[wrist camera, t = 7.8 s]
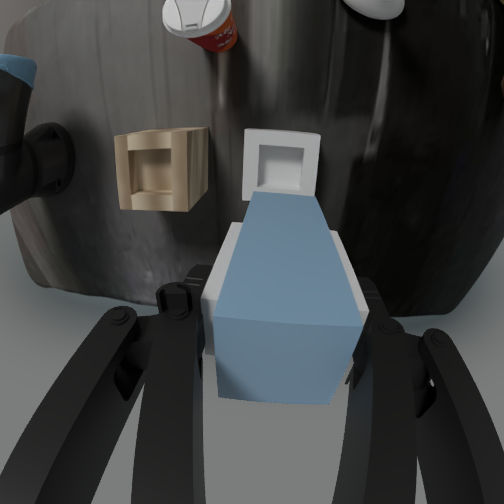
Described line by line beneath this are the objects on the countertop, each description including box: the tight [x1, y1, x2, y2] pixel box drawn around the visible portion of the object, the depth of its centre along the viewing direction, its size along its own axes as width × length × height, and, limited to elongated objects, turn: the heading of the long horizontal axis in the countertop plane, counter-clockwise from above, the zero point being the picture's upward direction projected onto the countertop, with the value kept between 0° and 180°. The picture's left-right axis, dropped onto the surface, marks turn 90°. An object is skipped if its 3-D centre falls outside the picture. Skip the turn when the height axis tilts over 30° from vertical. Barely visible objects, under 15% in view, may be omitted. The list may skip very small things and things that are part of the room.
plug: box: [213, 191, 364, 404], centre depth 13 cm, size 4×5×12 cm
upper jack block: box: [114, 127, 209, 212], centre depth 36 cm, size 10×10×10 cm
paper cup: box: [163, 0, 237, 53], centre depth 25 cm, size 8×8×14 cm
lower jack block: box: [242, 128, 321, 201], centre depth 38 cm, size 10×10×4 cm
